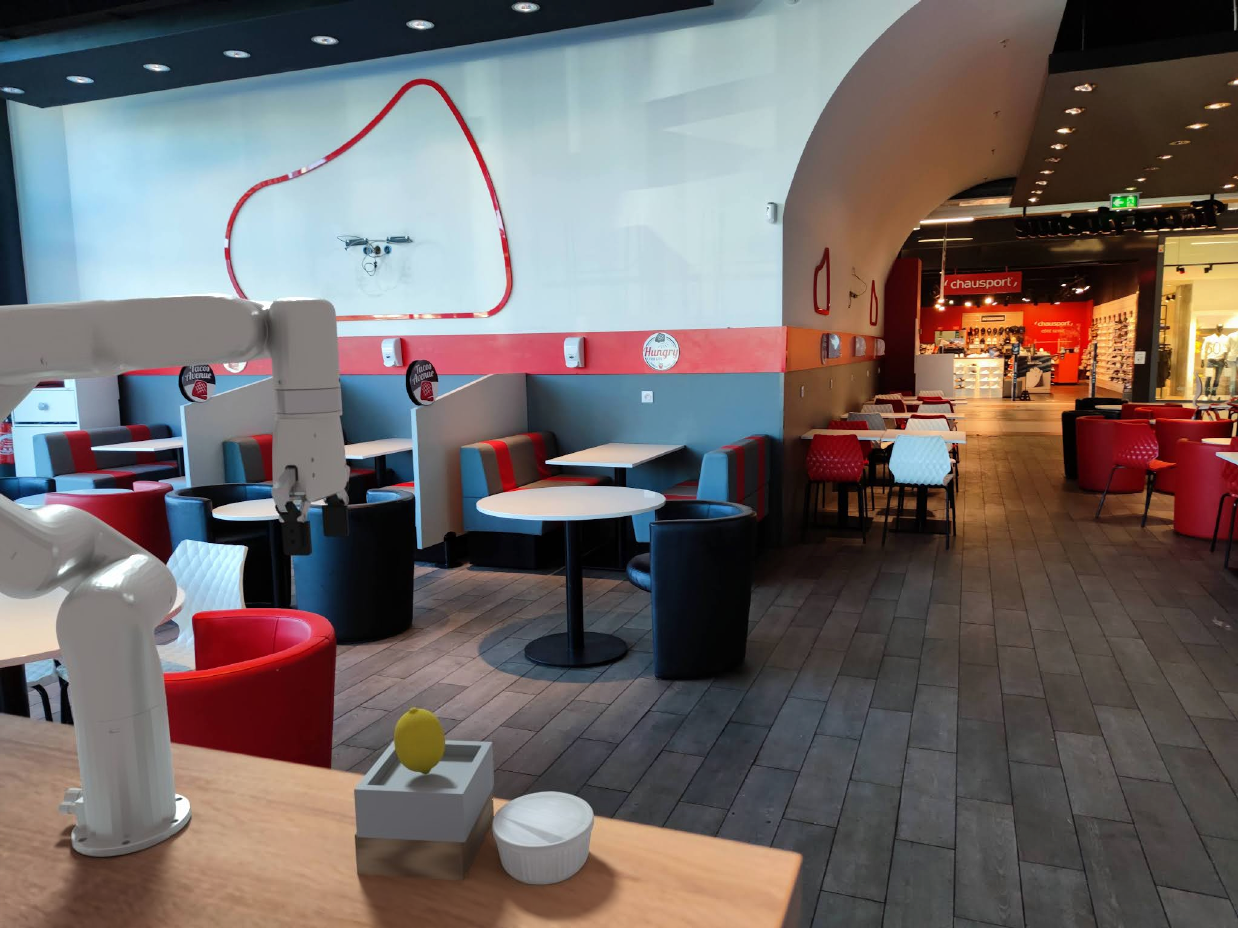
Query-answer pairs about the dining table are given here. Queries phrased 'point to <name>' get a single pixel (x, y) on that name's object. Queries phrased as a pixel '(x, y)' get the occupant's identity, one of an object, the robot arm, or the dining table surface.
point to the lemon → (419, 740)
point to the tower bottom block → (423, 853)
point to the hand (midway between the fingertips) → (318, 545)
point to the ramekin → (543, 836)
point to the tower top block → (426, 795)
